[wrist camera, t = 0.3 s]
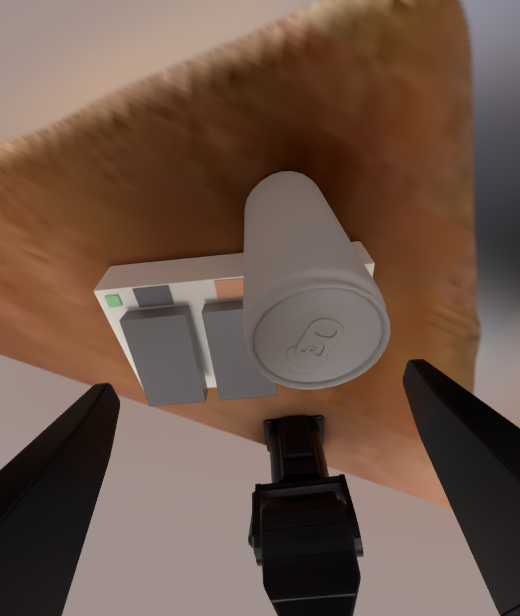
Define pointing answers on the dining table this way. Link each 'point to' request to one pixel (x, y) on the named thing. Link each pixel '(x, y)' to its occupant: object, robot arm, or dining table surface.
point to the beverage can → (306, 289)
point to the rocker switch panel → (179, 292)
